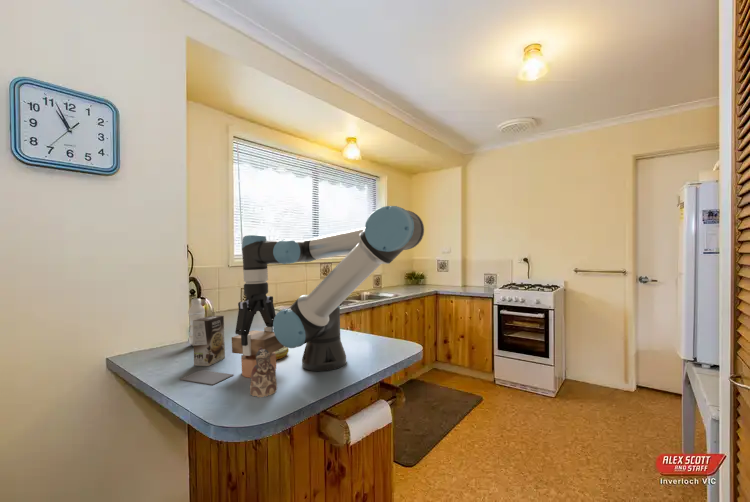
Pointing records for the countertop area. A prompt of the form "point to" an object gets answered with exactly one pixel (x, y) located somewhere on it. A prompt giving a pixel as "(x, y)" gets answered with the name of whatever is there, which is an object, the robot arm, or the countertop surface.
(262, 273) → the robot arm
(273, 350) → the brown wooden block
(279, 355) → the decorated donut
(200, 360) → the coffee box
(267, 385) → the figurine
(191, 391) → the countertop surface
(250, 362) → the bowl
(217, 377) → the mat
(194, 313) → the plastic bottle
